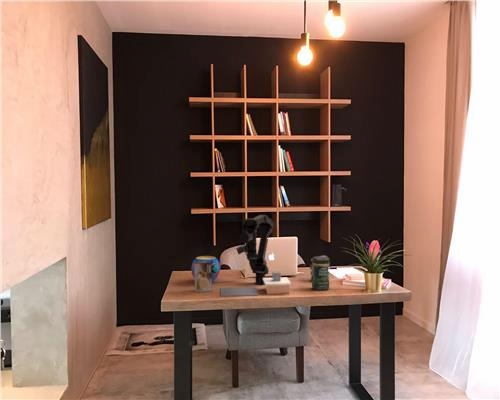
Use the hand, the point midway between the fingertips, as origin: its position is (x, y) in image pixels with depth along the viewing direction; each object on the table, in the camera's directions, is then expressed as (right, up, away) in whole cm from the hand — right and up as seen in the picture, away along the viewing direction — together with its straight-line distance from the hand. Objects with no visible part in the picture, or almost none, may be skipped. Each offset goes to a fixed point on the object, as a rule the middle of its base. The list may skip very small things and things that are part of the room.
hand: (251, 268), depth 239 cm
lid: (+14, -7, -4) cm, 16 cm away
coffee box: (-27, -12, -2) cm, 30 cm away
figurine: (+42, -11, +21) cm, 48 cm away
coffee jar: (+39, -12, 0) cm, 41 cm away
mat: (-7, -12, -6) cm, 15 cm away
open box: (+14, -12, -4) cm, 19 cm away
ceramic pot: (-28, -12, +18) cm, 35 cm away
